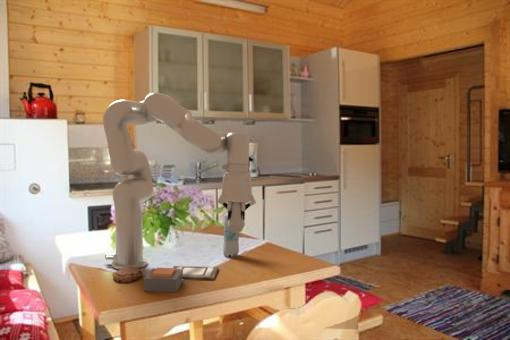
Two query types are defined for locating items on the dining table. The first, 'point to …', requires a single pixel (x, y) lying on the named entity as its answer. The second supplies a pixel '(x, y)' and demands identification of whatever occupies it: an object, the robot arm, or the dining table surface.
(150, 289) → the button housing
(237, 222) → the salt shaker
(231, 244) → the bottle
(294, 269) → the dining table surface
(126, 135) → the robot arm
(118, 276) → the cookie
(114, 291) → the dining table surface
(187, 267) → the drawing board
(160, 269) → the button
